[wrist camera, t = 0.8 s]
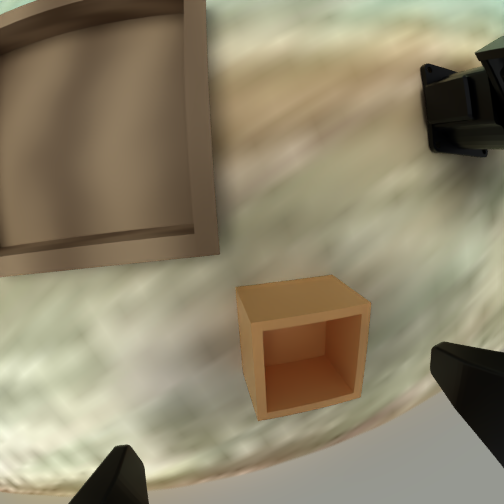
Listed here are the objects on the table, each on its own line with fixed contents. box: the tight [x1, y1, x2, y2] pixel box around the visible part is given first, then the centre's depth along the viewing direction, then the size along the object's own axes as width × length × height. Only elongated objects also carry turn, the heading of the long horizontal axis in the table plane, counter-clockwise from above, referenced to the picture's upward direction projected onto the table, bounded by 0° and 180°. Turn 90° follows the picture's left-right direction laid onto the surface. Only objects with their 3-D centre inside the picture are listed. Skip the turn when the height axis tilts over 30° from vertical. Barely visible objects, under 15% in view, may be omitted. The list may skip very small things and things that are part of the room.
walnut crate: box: [0, 0, 220, 277], centre depth 13 cm, size 14×14×4 cm
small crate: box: [235, 275, 371, 421], centre depth 18 cm, size 6×6×5 cm
